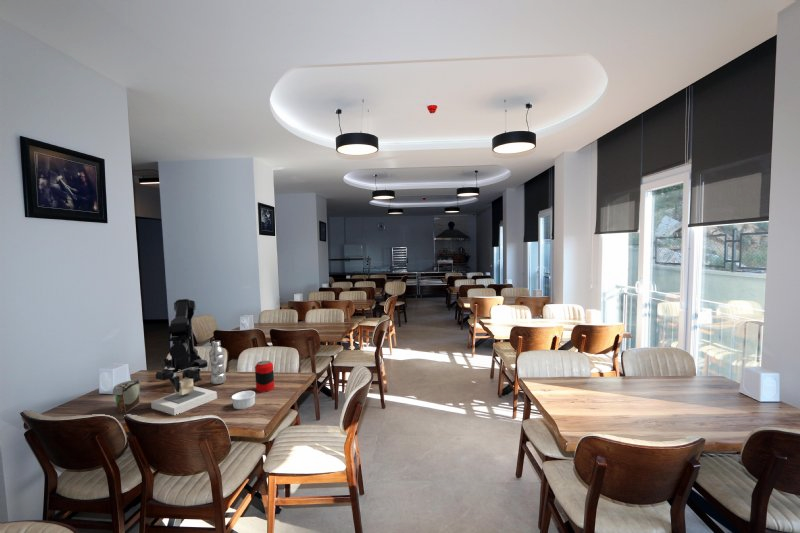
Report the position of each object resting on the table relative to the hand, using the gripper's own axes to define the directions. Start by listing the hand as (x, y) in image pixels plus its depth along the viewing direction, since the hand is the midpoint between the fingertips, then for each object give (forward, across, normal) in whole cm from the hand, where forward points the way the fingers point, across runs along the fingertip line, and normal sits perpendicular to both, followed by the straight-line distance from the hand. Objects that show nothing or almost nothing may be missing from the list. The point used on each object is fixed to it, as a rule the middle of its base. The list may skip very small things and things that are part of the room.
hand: (184, 389), depth 159 cm
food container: (+6, +14, -18) cm, 24 cm away
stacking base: (+6, 0, 0) cm, 6 cm away
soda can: (+6, -25, +19) cm, 32 cm away
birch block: (+1, 0, 0) cm, 1 cm away
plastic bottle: (+6, -21, -8) cm, 23 cm away
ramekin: (+6, -9, +25) cm, 27 cm away
